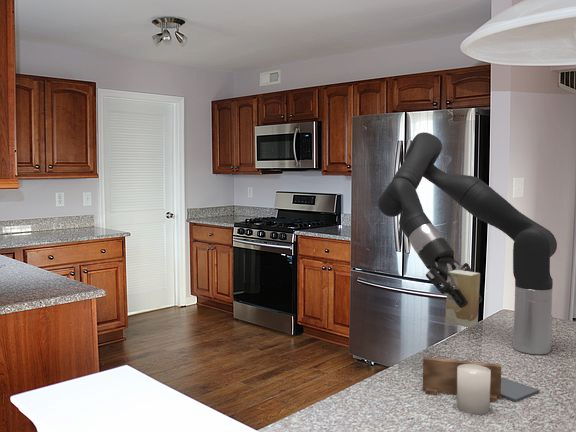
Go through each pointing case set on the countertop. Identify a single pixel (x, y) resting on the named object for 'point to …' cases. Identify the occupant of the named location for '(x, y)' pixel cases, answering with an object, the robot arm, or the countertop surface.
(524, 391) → the slate mat
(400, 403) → the countertop surface
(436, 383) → the walnut screen
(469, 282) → the skincare box
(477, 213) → the robot arm
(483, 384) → the white pillar candle
